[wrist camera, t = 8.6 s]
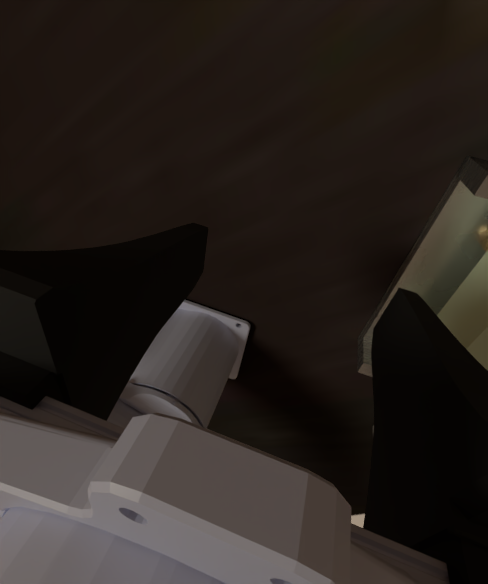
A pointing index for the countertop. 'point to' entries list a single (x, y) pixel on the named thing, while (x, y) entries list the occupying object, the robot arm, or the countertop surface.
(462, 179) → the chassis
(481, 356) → the board
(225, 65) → the countertop surface
